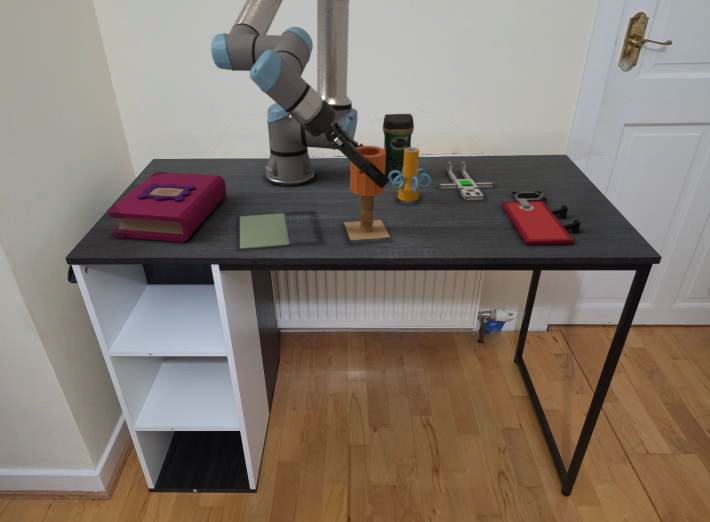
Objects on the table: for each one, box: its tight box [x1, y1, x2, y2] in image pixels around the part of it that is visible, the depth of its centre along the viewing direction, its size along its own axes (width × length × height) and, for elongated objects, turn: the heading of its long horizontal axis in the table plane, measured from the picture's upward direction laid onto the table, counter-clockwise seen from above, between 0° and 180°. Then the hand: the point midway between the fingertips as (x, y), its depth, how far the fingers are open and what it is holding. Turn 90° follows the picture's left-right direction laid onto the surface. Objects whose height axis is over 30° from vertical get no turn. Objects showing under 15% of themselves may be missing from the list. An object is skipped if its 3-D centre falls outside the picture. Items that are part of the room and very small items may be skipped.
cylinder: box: [388, 146, 432, 202], centre depth 146 cm, size 12×10×15 cm
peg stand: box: [343, 195, 391, 241], centre depth 129 cm, size 10×10×13 cm
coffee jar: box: [382, 113, 415, 177], centre depth 163 cm, size 10×8×19 cm
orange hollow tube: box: [349, 145, 386, 197], centre depth 124 cm, size 8×8×10 cm
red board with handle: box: [501, 190, 581, 246], centre depth 139 cm, size 30×3×15 cm
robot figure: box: [438, 161, 495, 201], centre depth 158 cm, size 16×3×22 cm
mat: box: [239, 212, 290, 250], centre depth 135 cm, size 18×20×1 cm
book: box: [106, 171, 227, 243], centre depth 140 cm, size 21×28×8 cm
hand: (381, 176), depth 125 cm, fingers closed on orange hollow tube, 8 cm apart
